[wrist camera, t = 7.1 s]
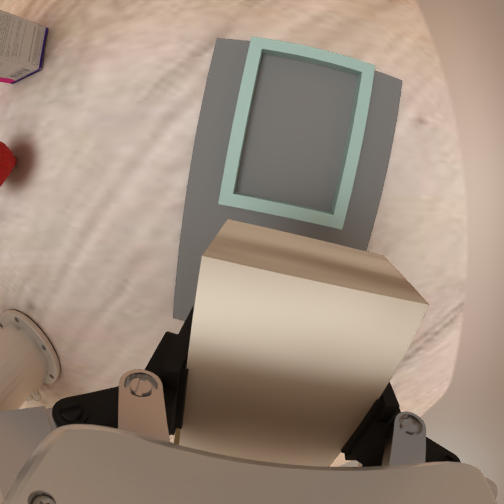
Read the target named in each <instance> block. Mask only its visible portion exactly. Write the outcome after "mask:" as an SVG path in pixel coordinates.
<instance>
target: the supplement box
mask: <svg viewBox="0 0 504 504" xmlns="http://www.w3.org/2000/svg"><path fill="white" fill-rule="evenodd" d="M47 33H48V28H46V27H44V26H42V25H39V24H37V23H34V22H32V21H29V20H26V19H24V18H21V17H19V16H16V15H13V14H10V13H7V12H4V11H2V10H0V82H5V83H11V84H13V83H15V82H17V81H19V80H21V79H23V78H25V77H27V76H29V75H31V74H33V73H35V72H38V71H40V70H42V65H43V57H44V50H45V44H46V39H47Z"/></svg>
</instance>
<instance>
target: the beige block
mask: <svg viewBox="0 0 504 504" xmlns="http://www.w3.org/2000/svg"><path fill="white" fill-rule="evenodd" d="M428 307H429V304H428V303H427V302H426V301H425V299H424V298H423V297H422V296H421V295H420V294H419V293H418V292H417V291H416V290H415V288H414V287H413V286H412V285H411V284H410V283H409V282H408V281H407V280H406V279H405V278H404V277H403V276H402V275H401V273H400V272H399V271H398V270H397V269H396V268H395V267H394V266H393V265H392V264H391V263H390V262H389V261H388V260H387V259H386V258H385V257H384V256H382V255H378V254H374V253H370V252H366V251H362V250H358V249H354V248H350V247H346V246H342V245H338V244H334V243H330V242H325V241H321V240H317V239H313V238H309V237H304V236H300V235H296V234H292V233H287V232H283V231H279V230H274V229H270V228H266V227H261V226H257V225H252V224H248V223H243V222H239V221H234V220H230V219H228V220H227V221H226V222H225V224H224V225H223V227H222V228H221V229H220V231H219V232H218V234H217V235H216V236H215V238H214V239H213V241H212V242H211V244H210V245H209V246H208V248H207V249H206V251H205V252H204V254H203V255H202V259H201V265H200V272H199V278H198V285H197V291H196V298H195V305H194V312H193V320H192V327H191V335H190V343H189V351H188V359H187V369H189V372H188V380H187V389H186V398H185V408H184V417H183V427H182V429H180V439H179V445H181V446H185V447H189V448H194V449H198V450H202V451H207V452H211V453H216V454H221V455H226V456H231V457H237V458H243V459H250V460H256V461H264V462H272V463H281V464H291V465H304V466H322V467H329V466H330V465H331V464H332V462H333V461H334V460H335V459H336V458H337V456H338V455H339V454H340V453H341V449H342V448H343V446H344V445H345V444H346V442H347V441H348V440H349V438H350V437H351V436H352V434H353V433H354V432H355V430H356V429H357V427H358V426H359V425H360V423H361V422H362V420H363V419H364V417H365V416H366V414H367V413H368V411H369V410H370V408H371V407H372V405H373V404H374V402H375V401H376V399H379V398H380V396H381V394H382V393H383V391H384V390H385V388H386V386H387V385H388V383H389V381H390V380H391V378H392V376H393V375H394V373H395V371H396V370H397V368H398V366H399V364H400V362H401V361H402V359H403V357H404V355H405V353H406V351H407V350H408V348H409V346H410V344H411V342H412V340H413V338H414V336H415V334H416V332H417V330H418V328H419V326H420V324H421V322H422V320H423V318H424V315H425V313H426V311H427V309H428Z"/></svg>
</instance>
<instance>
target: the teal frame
mask: <svg viewBox="0 0 504 504" xmlns="http://www.w3.org/2000/svg"><path fill="white" fill-rule="evenodd" d="M262 54H269V55H275V56H280V57H286V58H291V59H296V60H301V61H305V62H310V63H314V64H318V65H322V66H326V67H330V68H334V69H337V70H341V71H345V72H348V73H351V74H355V75H358V80H357V86H356V92H355V98H354V104H353V109H352V115H351V120H350V125H349V131H348V136H347V141H346V146H345V151H344V155H343V160H342V165H341V170H340V174H339V179H338V183H337V187H336V192H335V196H334V200H333V205H332V209H331V212H328V211H324V210H319V209H315V208H311V207H306V206H302V205H297V204H292V203H288V202H283V201H278V200H273V199H268V198H263V197H258V196H253V195H248V194H243V193H238V192H235V189H236V183H237V178H238V172H239V167H240V161H241V156H242V151H243V146H244V141H245V135H246V130H247V125H248V120H249V115H250V110H251V105H252V100H253V95H254V91H255V86H256V81H257V76H258V72H259V67H260V62H261V58H262ZM374 71H375V65H372V64H370V63H366V62H363V61H360V60H357V59H354V58H351V57H347V56H344V55H340V54H337V53H333V52H329V51H325V50H321V49H317V48H313V47H308V46H304V45H299V44H294V43H289V42H284V41H278V40H272V39H265V38H259V37H251V41H250V45H249V50H248V54H247V58H246V63H245V67H244V72H243V77H242V81H241V86H240V91H239V96H238V100H237V105H236V110H235V115H234V120H233V125H232V130H231V136H230V141H229V146H228V151H227V157H226V162H225V168H224V174H223V179H222V185H221V191H220V197H219V203H218V204H221V205H226V206H232V207H237V208H242V209H247V210H252V211H257V212H262V213H267V214H272V215H277V216H282V217H287V218H292V219H296V220H301V221H306V222H310V223H315V224H319V225H324V226H328V227H333V228H337V229H341V230H342V228H343V225H344V221H345V217H346V213H347V209H348V205H349V201H350V197H351V192H352V188H353V184H354V179H355V175H356V170H357V166H358V161H359V156H360V152H361V147H362V142H363V137H364V131H365V126H366V121H367V115H368V109H369V103H370V97H371V91H372V84H373V78H374Z"/></svg>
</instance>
